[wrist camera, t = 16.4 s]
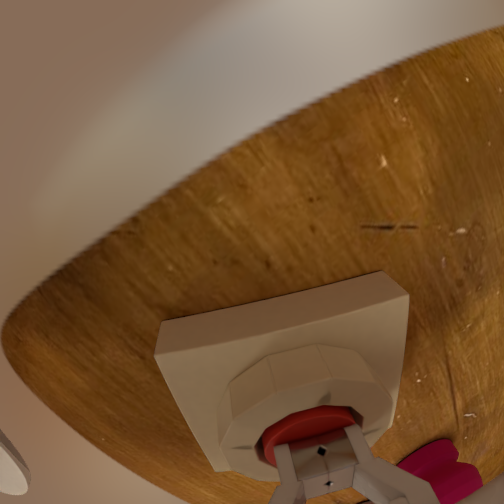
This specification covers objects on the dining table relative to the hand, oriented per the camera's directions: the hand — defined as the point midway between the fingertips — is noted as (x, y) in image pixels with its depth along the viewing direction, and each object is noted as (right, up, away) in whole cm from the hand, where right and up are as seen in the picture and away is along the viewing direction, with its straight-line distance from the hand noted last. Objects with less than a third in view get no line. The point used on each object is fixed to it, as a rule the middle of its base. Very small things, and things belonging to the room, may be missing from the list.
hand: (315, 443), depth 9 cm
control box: (-1, +1, +4) cm, 4 cm away
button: (0, 0, +2) cm, 2 cm away
